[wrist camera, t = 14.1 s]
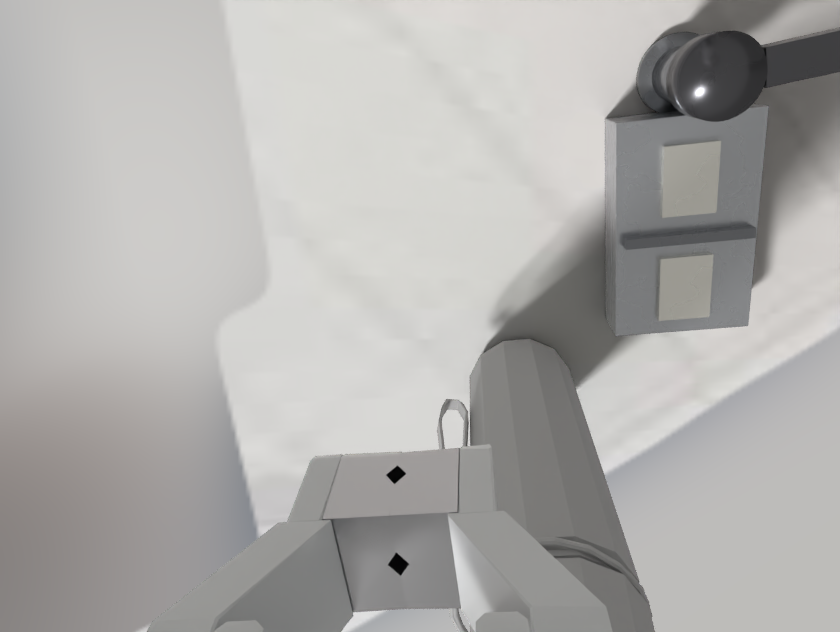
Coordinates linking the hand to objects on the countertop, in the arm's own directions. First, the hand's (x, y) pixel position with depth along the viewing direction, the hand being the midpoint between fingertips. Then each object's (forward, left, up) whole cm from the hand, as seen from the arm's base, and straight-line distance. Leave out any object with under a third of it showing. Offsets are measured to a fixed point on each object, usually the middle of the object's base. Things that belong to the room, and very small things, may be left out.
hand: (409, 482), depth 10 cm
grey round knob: (-4, +14, -30) cm, 33 cm away
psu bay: (+4, +14, -30) cm, 33 cm away
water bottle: (+15, +3, -31) cm, 34 cm away
